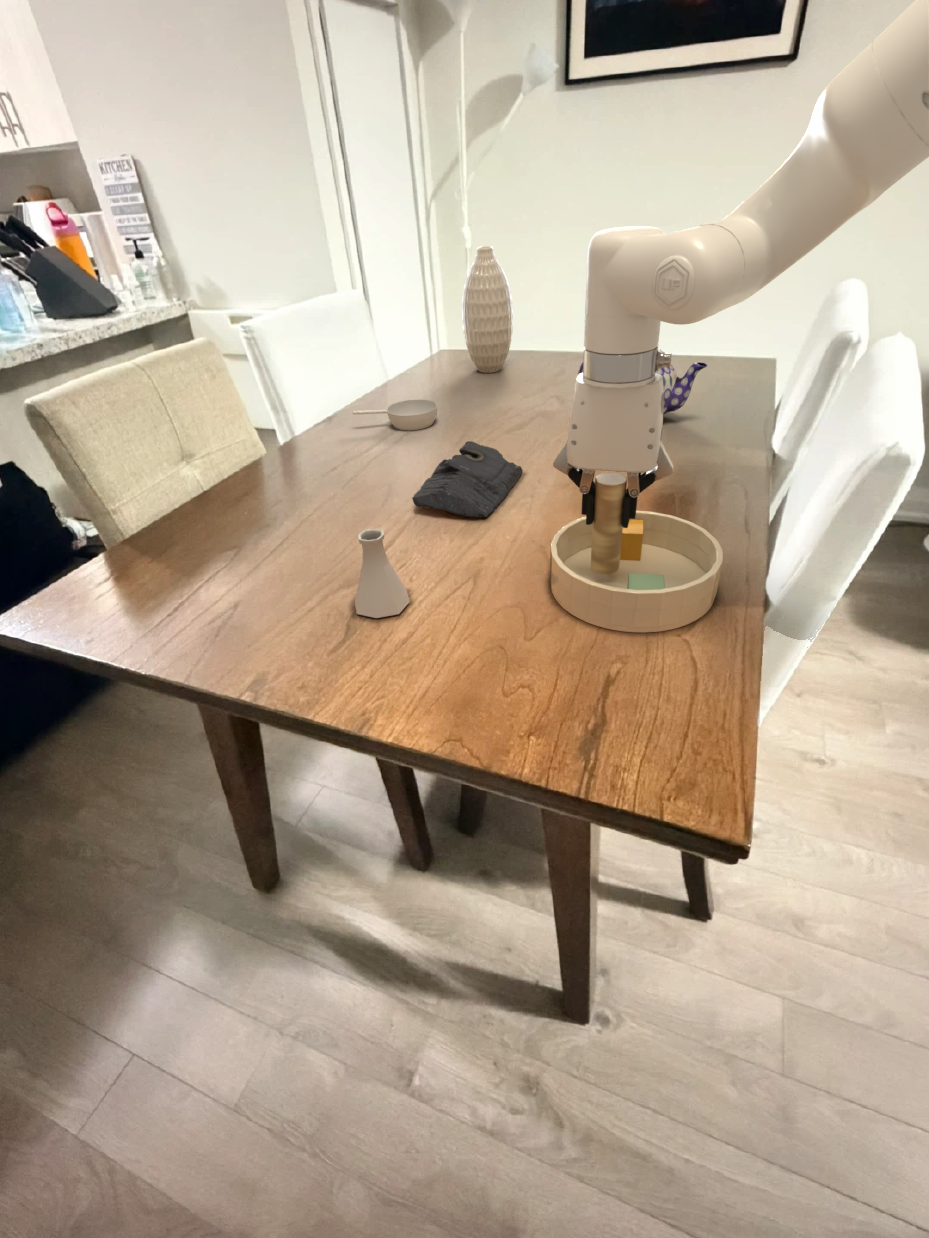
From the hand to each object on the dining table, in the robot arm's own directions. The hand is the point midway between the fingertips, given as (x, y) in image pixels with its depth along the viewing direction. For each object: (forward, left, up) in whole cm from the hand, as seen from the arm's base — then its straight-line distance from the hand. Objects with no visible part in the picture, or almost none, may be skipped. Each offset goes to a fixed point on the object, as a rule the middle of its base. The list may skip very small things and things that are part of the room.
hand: (608, 520), depth 78 cm
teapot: (+3, -64, -9) cm, 65 cm away
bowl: (-3, 0, -9) cm, 10 cm away
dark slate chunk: (+27, -24, -9) cm, 37 cm away
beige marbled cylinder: (0, 0, -7) cm, 7 cm away
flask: (+27, +11, -9) cm, 30 cm away
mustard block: (-2, -7, -8) cm, 11 cm away
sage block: (-5, +7, -8) cm, 12 cm away
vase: (+44, -97, -9) cm, 107 cm away
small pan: (+52, -53, -9) cm, 74 cm away
